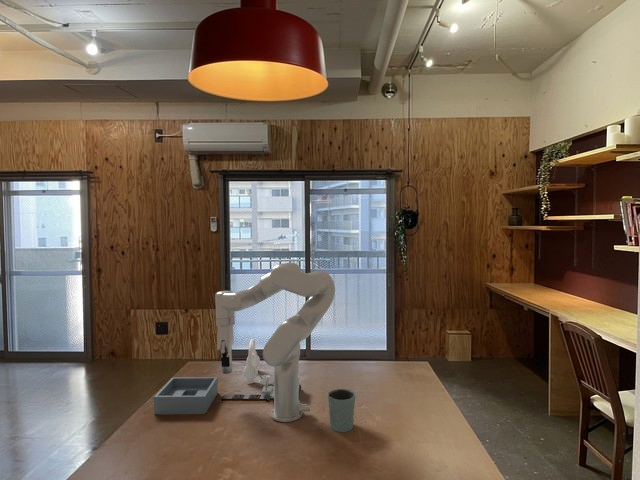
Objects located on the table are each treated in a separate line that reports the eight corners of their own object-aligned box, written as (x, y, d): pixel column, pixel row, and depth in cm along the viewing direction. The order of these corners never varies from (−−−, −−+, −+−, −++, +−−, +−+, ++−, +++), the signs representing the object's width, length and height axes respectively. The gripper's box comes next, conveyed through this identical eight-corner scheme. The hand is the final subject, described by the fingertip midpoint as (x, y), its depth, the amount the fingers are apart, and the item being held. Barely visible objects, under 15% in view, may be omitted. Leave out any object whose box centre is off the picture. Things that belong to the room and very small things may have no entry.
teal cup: (332, 434, 142) (332, 401, 142) (324, 421, 152) (324, 390, 152) (359, 430, 145) (359, 398, 145) (349, 417, 155) (349, 387, 154)
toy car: (257, 378, 170) (261, 368, 182) (257, 401, 170) (261, 389, 182) (299, 378, 170) (301, 368, 181) (299, 401, 170) (301, 390, 181)
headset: (257, 384, 187) (257, 346, 187) (242, 385, 187) (241, 347, 186) (260, 369, 207) (259, 334, 207) (246, 369, 207) (246, 335, 206)
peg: (232, 370, 169) (232, 346, 169) (230, 373, 165) (230, 349, 165) (223, 370, 169) (222, 347, 169) (221, 374, 165) (220, 350, 165)
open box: (217, 392, 178) (217, 377, 178) (205, 414, 158) (205, 396, 158) (172, 393, 178) (172, 377, 178) (154, 414, 158) (153, 396, 158)
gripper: (221, 316, 175) (222, 358, 176) (211, 326, 158) (212, 372, 159) (238, 316, 175) (239, 357, 176) (230, 325, 158) (231, 371, 159)
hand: (226, 364), depth 167 cm, fingers closed on peg, 4 cm apart
